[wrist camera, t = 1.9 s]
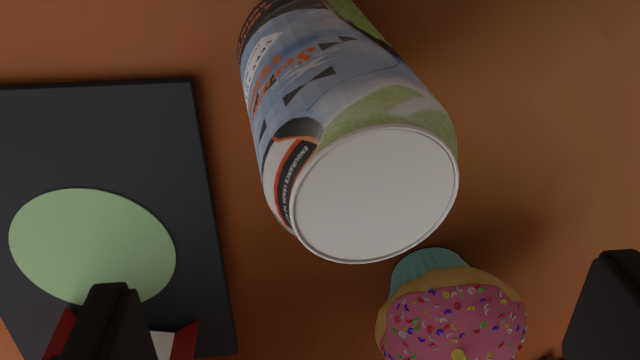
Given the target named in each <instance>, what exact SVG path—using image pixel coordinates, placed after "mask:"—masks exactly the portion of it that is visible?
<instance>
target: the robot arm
mask: <svg viewBox="0 0 640 360" xmlns="http://www.w3.org/2000/svg"><path fill="white" fill-rule="evenodd" d="M562 354H563V357H564V359H565V360H640V252H638V251H637V250H634V249H623V250H608V251H603V252H602V253H600V255H599V257H598V258H596V259H594V260H593V262H592V264H591V266H590V269H589V272H588V274H587V277H586V280H585V282H584V285H583V288H582V290H581V293H580V296H579V299H578V301H577V304H576V307H575V309H574V312H573V315H572V317H571V320H570V323H569V325H568V328H567V331H566V333H565V336H564V339H563V342H562ZM48 360H158V357H157V354H156V350H155V347H154V344H153V340H152V337H151V334H150V330H149V327H148V324H147V320H146V317H145V314H144V310H143V307H142V304H141V301H140V297H139V294H138V291H137V290H136V289H135V288H133V289H129V287H128V285H127V283H126V282H112V283H96V284H94V285H92V287H91V289H90V290H89V293H88V295H87V297H86V299H85V302H84V304H83V306H82V308H81V310H80V313H79V315H78V317H77V319H76V322H75V324H74V326H73V328H72V330H71V333H70V335H69V337H68V339H67V342H66V344H65V346H64V348H63V350H62V353H61V354H59V355H54V356H51V357H50V358H49V359H48Z"/></svg>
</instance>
